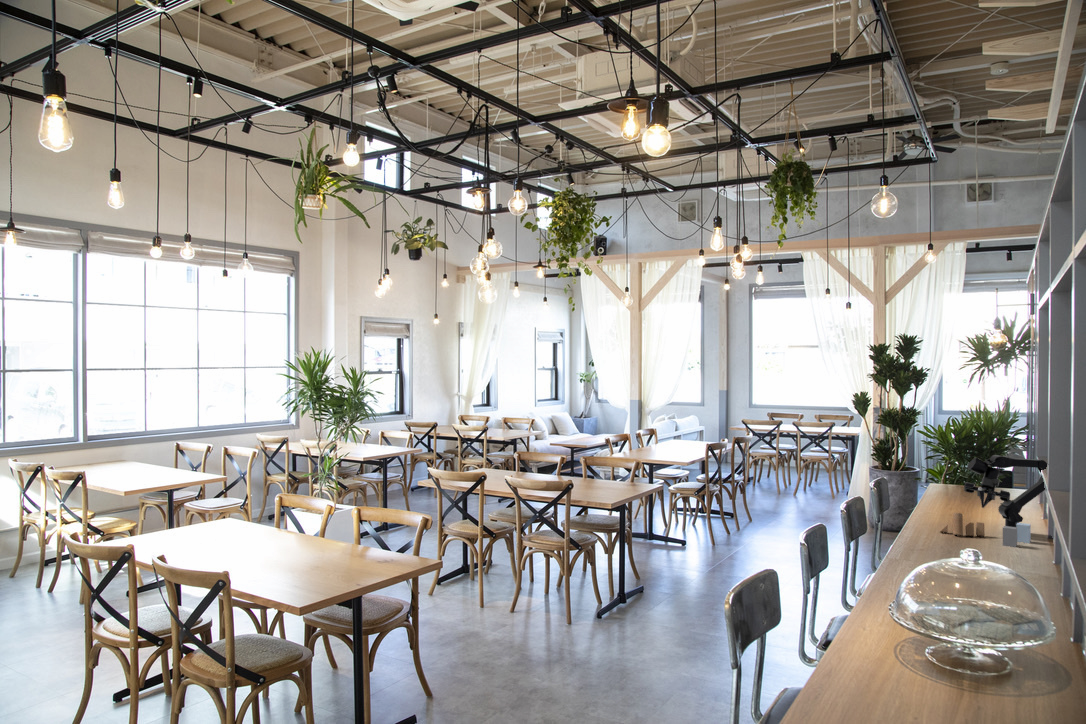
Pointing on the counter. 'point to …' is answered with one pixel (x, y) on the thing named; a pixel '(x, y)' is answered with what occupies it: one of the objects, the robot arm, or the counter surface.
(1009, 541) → the gray rectangular block
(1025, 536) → the slate blue block
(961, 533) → the wooden block set
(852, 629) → the counter surface
